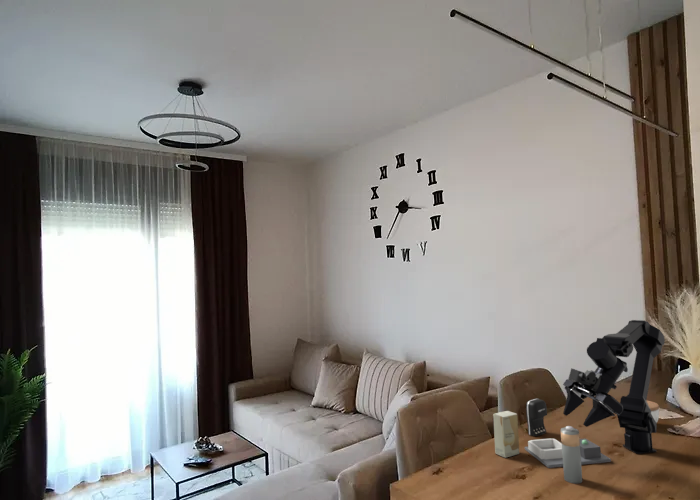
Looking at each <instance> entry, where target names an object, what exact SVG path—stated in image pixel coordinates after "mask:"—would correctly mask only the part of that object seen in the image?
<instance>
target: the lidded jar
mask: <svg viewBox="0 0 700 500" xmlns="http://www.w3.org/2000/svg"><path fill="white" fill-rule="evenodd" d="M646 401H647V403H648V405H649V407H650V409H651V415H652V416H653V418H654V420H655V421H656V424H657V423H658V421H659V419H660V418H659V417H660V410H659V409H660V405H659V404H658V403H657V402H654V401H651V400H648V399H647V400H646Z"/></svg>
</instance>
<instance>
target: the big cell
mask: <svg viewBox="0 0 700 500" xmlns="http://www.w3.org/2000/svg"><path fill="white" fill-rule="evenodd" d="M580 439H581V438H580V431H579V429H577V428H574V426H571V425H567V426H565V427H561V428H560V440H561V441H560V443H562V455H563V467H562V468H563V479H564V481H565V482H567V483H569V484H570V483H571V484H581V483H582V482H583V473H582V470H583V469H582V465H581V454H580Z"/></svg>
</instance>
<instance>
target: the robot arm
mask: <svg viewBox="0 0 700 500" xmlns="http://www.w3.org/2000/svg"><path fill="white" fill-rule="evenodd" d="M665 342H666V341H665V335H664V333H663V332H662V330H661V329H659V328H658V327H655V326H654V325H652V324H650V323H649V321H647V320H641V319H639V320H638V319H632V320H629V321H628V323H627V324H626V325H625V326H624V327H623V328H621V329H620V330H619V331H617V332H616V333H608V334H606V335H604V336H603V337H596V341H593V342H592V343H590V344H589V345H588V346H587V348H586V354H587V356H588V357H589V358H590V359H591V361H592V362H593V363H594V364H595V366H597V367H596V368H595V370H588V369H587V370H586V371H584V372H583V371H580V370H578V369H575V368H570V372H569V376H568V378H567V379H566V380H565V381H564V382H563V384H562V385H563V387H564V390H565V391H566V395H567V396H566V400H565V401H566V402H565V405H564V409H563V413H562V414H563V415H564V416H566V417H567V416H569V415H570V414H571V413H573V411H575V410H577V408H578V407H579V406H581V405H583V403H585V399H587V398H588V399H592V408H591V409H590V411H589V412H588V414H587V416H586V418H585V420H584V422H583V423H582V424H583V426H584V427H586V428H588V427H590V426H591V425H594V424H596V423H598V422H599V421H603V420H605V419H607V418H610V417H615V416H617V420H618V425H619V428H621V429H622V428H623V429H624V434H623V436H624V437H623V438H624V444H622V447H623V448H624V449H626V450H629V451H630V452H633V453H635V455H636V454H637V455H640V454H650V453H651V454H652V453H657V451H658V450H657V449H656V448H653V437H652V434H656V433H657V427H658V426H657V423H656V421H655V420H654V418H653V416H652V415H651V409H650V407H649V405H648V403H647V401H648V393H649V387H650V382H651V381H650V380H651V376H652V371H653V364H654V359H655V358H656V357H657V356H658V355H659V354H660V353H661V352H662V349H663V346H664V345H665ZM634 350H635V351H636V353H635V354H636V355H635V361H634V364H633V371H632V376H631V381H630V385H629V390H628V391H629V392H628V394H627V395H626V396H625V395H622V396H621V397H620V399H619V400H620V401H618V400H617V399H616V398H615V397H614V396H613V395H612V394H609V393H610V392H611V390H616V389H617V388H618V386H617V385H616V382H617V380H618V379H619V378H620V377H621V375H622V373H623V372H625V373H628V370H629V369H628V366H627V362H626V361H624V360H622V359H621V357H622V358H628V357H629V356H631V354H632V353H633V351H634ZM619 357H620V358H619ZM646 400H647V401H646Z"/></svg>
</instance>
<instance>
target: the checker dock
mask: <svg viewBox="0 0 700 500" xmlns="http://www.w3.org/2000/svg"><path fill="white" fill-rule="evenodd" d="M527 445H528V446H524V450H525V451H526V452H528V453H529V454H530V455H531V456H533V457H534V458H535V459H536V460H537V461H539V462H540V463H541V464H543V465H544V466H545V467H546V468H547V469H553V468H561V467H562V468H563V455H562V443H561V441H559V440H557V439H556V438H541V439H530V440H528V441H527ZM580 454H581V466H583V465H590V464H591V465H592V464H602V463H611V462H612V458H610V457H608V456H607V455H605V454H603V453H602V452H601V446H599V445H598V444H596V443H594V442H593V441H591V440H589V439H588V438H580Z"/></svg>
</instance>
